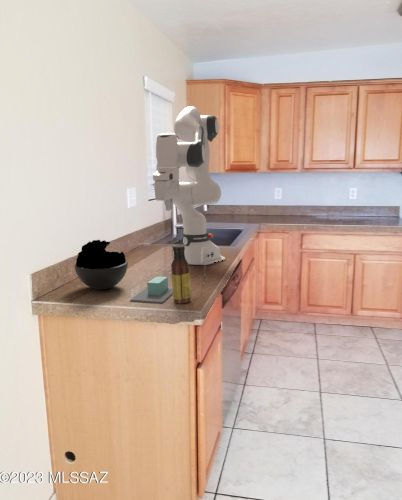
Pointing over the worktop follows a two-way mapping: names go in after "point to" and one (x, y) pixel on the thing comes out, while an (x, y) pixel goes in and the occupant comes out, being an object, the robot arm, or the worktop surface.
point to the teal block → (157, 285)
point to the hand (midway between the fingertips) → (169, 210)
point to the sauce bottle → (180, 276)
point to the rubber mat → (152, 296)
